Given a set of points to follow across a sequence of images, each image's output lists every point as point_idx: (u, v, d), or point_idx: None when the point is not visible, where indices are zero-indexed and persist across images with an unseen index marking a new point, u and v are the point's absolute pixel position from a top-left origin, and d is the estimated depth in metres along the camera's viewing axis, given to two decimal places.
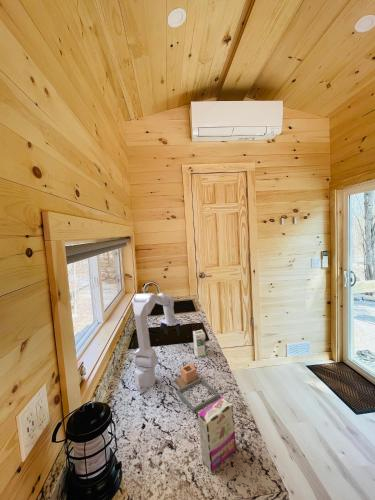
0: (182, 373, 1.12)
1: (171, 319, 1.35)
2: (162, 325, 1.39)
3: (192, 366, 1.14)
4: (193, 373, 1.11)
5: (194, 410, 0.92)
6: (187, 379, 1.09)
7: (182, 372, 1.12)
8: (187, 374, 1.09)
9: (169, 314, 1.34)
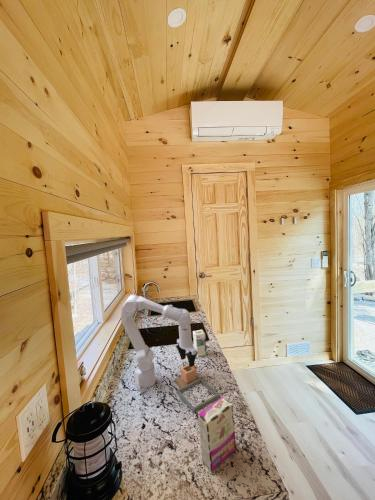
0: (182, 373, 1.12)
1: (183, 342, 1.08)
2: (177, 346, 1.14)
3: (192, 366, 1.14)
4: (193, 373, 1.11)
5: (194, 410, 0.92)
6: (187, 379, 1.09)
7: (182, 372, 1.12)
8: (187, 374, 1.09)
9: (179, 334, 1.09)
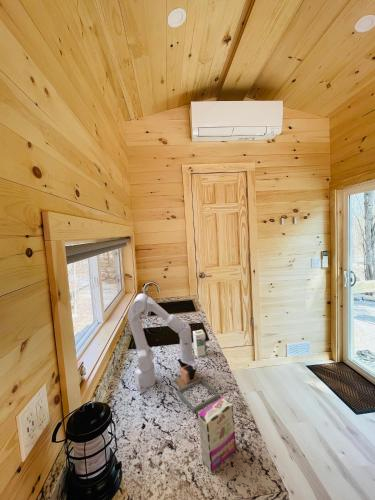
0: (182, 373, 1.12)
1: (185, 356, 1.09)
2: (179, 360, 1.14)
3: None
4: None
5: (194, 410, 0.92)
6: (187, 379, 1.09)
7: (182, 372, 1.12)
8: (187, 374, 1.09)
9: (181, 348, 1.10)
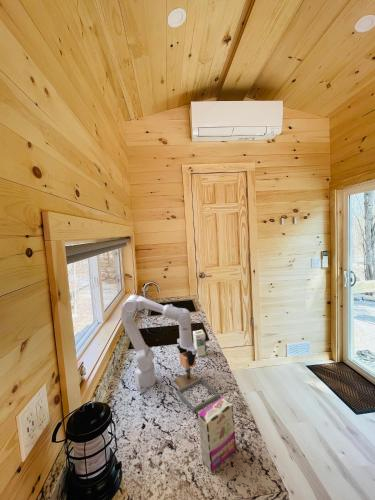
0: (181, 359, 1.10)
1: (184, 342, 1.07)
2: (179, 346, 1.13)
3: None
4: None
5: (194, 410, 0.92)
6: (187, 365, 1.08)
7: (181, 358, 1.10)
8: (186, 360, 1.07)
9: (180, 334, 1.08)
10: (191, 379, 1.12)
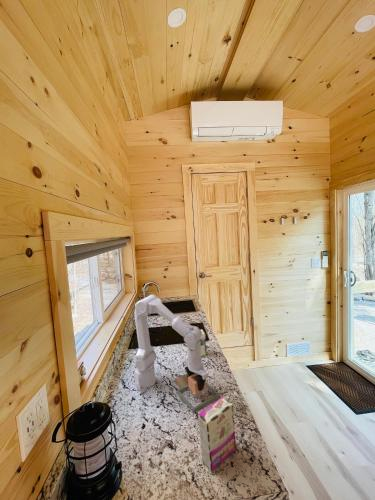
0: (190, 383, 1.00)
1: (193, 364, 0.97)
2: (187, 368, 1.02)
3: None
4: None
5: (194, 410, 0.92)
6: (196, 390, 0.97)
7: (190, 382, 1.00)
8: (196, 384, 0.97)
9: None
10: None
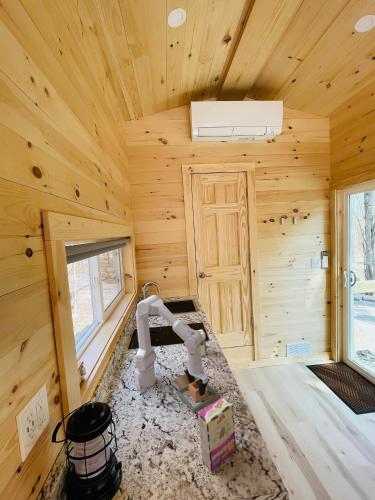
0: (190, 390, 1.00)
1: (193, 368, 0.97)
2: (186, 371, 1.03)
3: None
4: None
5: (194, 410, 0.92)
6: (197, 398, 0.97)
7: (191, 389, 1.00)
8: (196, 392, 0.97)
9: (188, 357, 0.99)
10: None
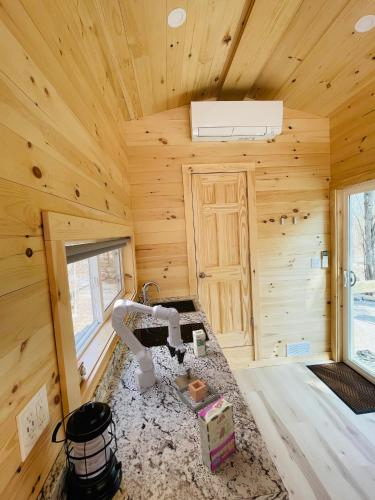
0: (190, 390, 1.00)
1: (173, 340, 1.11)
2: (167, 344, 1.17)
3: (202, 382, 1.02)
4: (203, 391, 0.99)
5: (194, 410, 0.92)
6: (197, 398, 0.97)
7: (191, 389, 1.00)
8: (196, 392, 0.97)
9: (169, 333, 1.11)
10: (191, 379, 1.12)
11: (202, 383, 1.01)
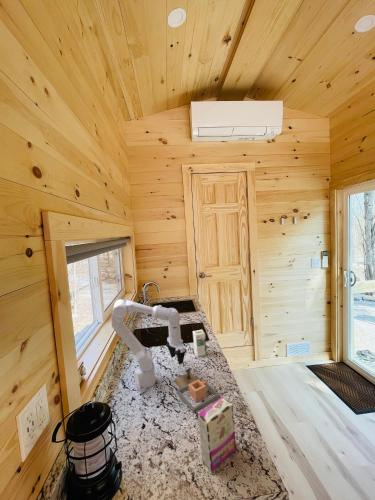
0: (190, 390, 1.00)
1: (173, 340, 1.11)
2: (167, 344, 1.17)
3: (202, 382, 1.02)
4: (203, 391, 0.99)
5: (194, 410, 0.92)
6: (197, 398, 0.97)
7: (191, 389, 1.00)
8: (196, 392, 0.97)
9: (169, 333, 1.11)
10: (191, 379, 1.12)
11: (202, 383, 1.01)
